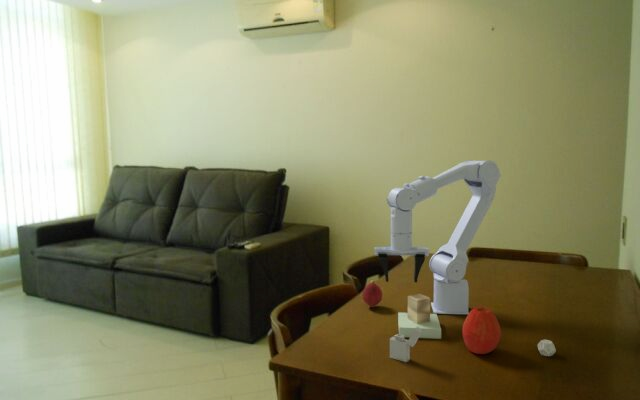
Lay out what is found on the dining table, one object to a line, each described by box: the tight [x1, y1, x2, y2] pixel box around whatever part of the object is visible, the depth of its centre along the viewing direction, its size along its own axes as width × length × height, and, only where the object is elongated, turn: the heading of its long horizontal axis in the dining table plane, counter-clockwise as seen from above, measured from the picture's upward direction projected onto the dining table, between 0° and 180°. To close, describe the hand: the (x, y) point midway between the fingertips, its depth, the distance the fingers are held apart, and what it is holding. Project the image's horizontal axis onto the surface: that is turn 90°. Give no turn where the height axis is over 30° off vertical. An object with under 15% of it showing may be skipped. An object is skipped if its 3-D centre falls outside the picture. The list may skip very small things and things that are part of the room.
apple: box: [462, 305, 502, 355], centre depth 99 cm, size 8×8×11 cm
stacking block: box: [397, 311, 442, 340], centre depth 113 cm, size 10×10×3 cm
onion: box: [361, 279, 383, 308], centre depth 129 cm, size 6×6×8 cm
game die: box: [537, 338, 557, 357], centre depth 98 cm, size 4×4×3 cm
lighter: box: [389, 326, 423, 363], centre depth 96 cm, size 7×2×8 cm, turn 54°
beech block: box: [407, 293, 431, 324], centre depth 112 cm, size 4×4×6 cm
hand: (401, 281), depth 121 cm, fingers open, 7 cm apart
